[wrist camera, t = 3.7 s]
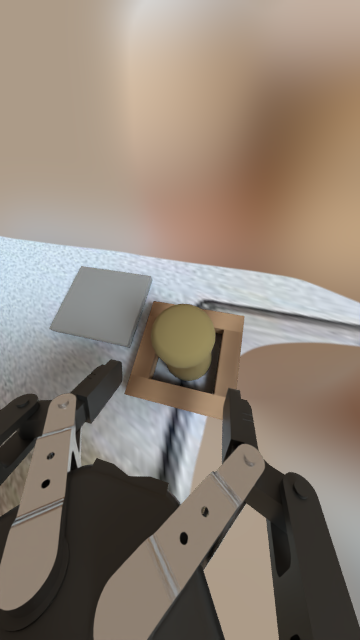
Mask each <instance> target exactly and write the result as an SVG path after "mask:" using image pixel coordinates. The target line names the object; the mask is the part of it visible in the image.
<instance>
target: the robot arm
mask: <svg viewBox="0 0 360 640" xmlns="http://www.w3.org/2000/svg"><path fill="white" fill-rule="evenodd" d="M121 382H122V363H121V362H120V361H116V360H112V359H111V360H110V361H109V362H108V363H107V364H106V365H101V366H99V367H97V368H96V369H94V370H93V371H92V372H91V374H89V375H88V376H87V378H85V379H84V380H83V381H82V382H81V383H80V384H79V385H78V386H77V387H76V388H75V389H74V390H73V391H72V392H71V393H68V394H62V395H60V396H58V397H56V398H55V399H53V400H41V401H39V400H38V397H37V395H35V394H26V395H22V396H20V397H18V398H16V399H14V400H13V401H12V402H10V403H9V404H8V405H7V406H5V407H4V408H3V409H1V410H0V446H1V444H2V443H3V442H4V441H5V440H6V439H7V438H9V437H10V436H11V435H12V434H13V433H14V432H15V431H17V432H16V433H15V434H14V435H13V436H12V437H11V438H10V439H9V440H8V441H6V442H5V443H4V444H3V445H2V446H1V447H0V485H1V484H2V483H3V482H4V481H5V480H6V478H7V477H8V476H9V475H10V474H11V473H12V472H13V470H14V469H15V468H16V467H17V466H18V465H19V464H20V462H21V461H22V460H23V459H24V458H25V457H26V456H27V455H28V453H29V452H30V451H31V450H32V449H33V448H34V447H35V448H34V452H33V456H32V460H31V463H30V467H29V471H28V475H27V479H26V483H25V487H24V490H23V494H22V498H21V502H20V504H19V505H18V506H16V507H15V508H13V509H12V510H10V511H9V512H7V513H5V514H4V515H2V516H1V517H0V640H225V638H224V635H223V632H222V629H221V625H220V622H219V619H218V616H217V613H216V610H215V607H214V603H213V600H212V597H211V594H210V590H209V587H208V584H207V581H206V578H205V574H204V571H203V570H204V569H205V567H206V566H207V564H208V563H209V561H210V560H211V558H212V557H213V555H214V553H215V552H216V550H217V549H218V547H219V546H220V544H221V542H222V541H223V539H224V537H225V536H226V534H227V532H228V531H229V529H230V528H231V526H232V525H233V523H234V521H235V520H236V518H237V517H238V515H239V514H240V512H241V511H242V509H243V508H244V506H245V505H246V503H247V504H248V505H250V506H251V507H252V508H254V509H255V510H256V511H258V512H259V513H260V514H262V515H263V516H264V517H265V518H266V521H267V531H268V540H269V549H270V558H271V568H272V578H273V587H274V596H275V606H276V615H277V624H278V634H279V640H360V627H359V624H358V621H357V618H356V615H355V611H354V608H353V605H352V602H351V599H350V596H349V593H348V590H347V586H346V583H345V580H344V577H343V575H342V571H341V568H340V565H339V561H338V558H337V555H336V552H335V549H334V546H333V543H332V540H331V537H330V534H329V530H328V528H327V524H326V521H325V518H324V515H323V512H322V509H321V505H320V502H319V499H318V496H317V494H316V492H315V490H314V489H313V487H312V486H311V484H310V483H309V482H308V481H307V480H306V479H305V478H303V477H302V476H300V475H299V474H296V473H293V472H289V473H287V474H285V475H284V474H282V473H281V472H279V471H278V470H276V469H275V468H273V467H272V466H270V465H269V464H268V463H267V462H266V461H265V460H264V459H263V457H262V455H261V454H260V452H259V450H258V446H257V440H256V434H255V427H254V423H253V417H252V409H251V406H250V405H249V403H248V402H247V400H243V399H241V396H240V391H239V390H236V389H232V388H228V391H227V394H226V398H225V401H224V406H223V427H222V429H223V430H222V432H223V433H222V465H221V466H220V467H219V469H218V470H217V471H216V472H211V473H210V474H209V475H208V476H207V477H206V478H205V479H204V480H203V481H202V482H201V484H200V485H199V486H198V487H197V488H196V489H195V490H194V491H193V492H192V493H191V494H190V495H189V497H188V498H187V499H186V500H185V501H184V502H183V503H182V504H180V502H179V501H178V500H177V498H176V497H175V496H174V495H173V494H172V493H171V492H170V491H169V490H168V485H169V483H167V482H164V481H161V480H158V479H155V478H152V477H136V476H128V475H127V474H125V473H124V472H123V471H122V470H120V469H119V468H118V467H117V466H115V465H114V464H112V463H109V462H106V461H103V460H100V459H98V458H97V459H96V460H95V462H94V464H93V465H85V466H82V467H81V438H82V425H83V424H84V423H85V422H87V423H92V422H93V421H94V419H95V418H96V417H97V415H98V414H99V413H100V411H101V410H102V409H103V407H104V406H105V404H106V403H107V402H108V400H109V399H110V398H111V396H112V395H113V394H114V392H115V391H116V390H117V388H118V387H119V386H120V384H121Z"/></svg>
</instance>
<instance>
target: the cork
mask: <svg viewBox="0 0 360 640" xmlns="http://www.w3.org/2000/svg"><path fill="white" fill-rule="evenodd" d="M151 341H152V347H153V349H154V351H155V353H156V355H157V356H158V357H159V358H160V359H161V360H162V361H164V362H165V363H166V365H167V367H168V369H169V371H170V372H171V373H172V374H173V375H174V376H175V377H177V378H179V379H181V380H186V381H192V380H196V379H199V378H200V377H202V376H203V375H204V374H205V373H206V372H207V371H208V370H209V367H210V365H211V361H212V354H211V351H212V349H213V346H214V343H215V329H214V325H213V322H212V321H211V319H210V318H209V316H208V315H207V313H205V312H204V311H203V310H201V309H200V308H199V307H196V306H193V305H190V304H178V305H173V306H170V307H169V308H167V309H165V310H163V311H162V312H161V313H160V314H159V315H158V316H157V318H156V319H155V321H154V323H153V325H152V331H151Z"/></svg>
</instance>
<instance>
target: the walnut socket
mask: <svg viewBox="0 0 360 640" xmlns="http://www.w3.org/2000/svg"><path fill="white" fill-rule="evenodd" d="M173 305H174V304H168V303H162V302H156V301H154V302H153V305H152V308H151V311H150V314H149V317H148V321H147V324H146V327H145V330H144V333H143V336H142V340H141V343H140V346H139V349H138V352H137V356H136V359H135V362H134V365H133V368H132V371H131V375H130V378H129V381H128V384H127V387H126V390H125V394H126V395H130V396H134V397H138V398H141V399H145V400H149V401H153V402H156V403H160V404H164V405H168V406H171V407H175V408H179V409H183V410H186V411H190V412H194V413H198V414H201V415H205V416H209V417H213V418H217V419H220V420H223V406H224V401H225V398H226V394H227V391H228V388H232V389H237V379H238V370H239V361H240V352H241V343H242V334H243V325H244V316H240V315H234V314H228V313H222V312H216V311H210V310H204V309H201V310H203V311H204V312H205V313H207V315H208V316H209V318H210V319H211V321H212V322H213V325H214V329H215V333H218V334H222V338H221V345H220V351H219V358H218V365H217V371H216V378H215V384H214V391H213V394H210V393H205V392H201V391H197V390H193V389H189V388H185V387H181V386H177V385H173V384H169V383H165V382H160V381H156V380H152V379H153V375H154V372H155V368H156V364H157V361H158V356H157V355H156V353H155V351H154V349H153V347H152V341H151V331H152V325H153V323H154V321H155V319H156V318H157V316H158V315H159V314H160V313H161V312H162V311H163V310H165V309H167V308H169V307H170V306H173Z"/></svg>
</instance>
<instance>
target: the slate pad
mask: <svg viewBox="0 0 360 640" xmlns="http://www.w3.org/2000/svg"><path fill="white" fill-rule="evenodd" d="M151 283H152V278H151V276H146V275H139V274H132V273H125V272H118V271H111V270H104V269H97V268H90V267H83V266H81V268H80V270H79V272H78V274H77V276H76V278H75V280H74V282H73V284H72V285H71V287H70V289H69V291H68V293H67V295H66V297H65V299H64V301H63V303H62V305H61V307H60V309H59V311H58V313H57V315H56V317H55V318H54V320H53V322H52V324H51V326H50V328H49V329H51V330H53V331H56V332H61V333H65V334H70V335H75V336H79V337H84V338H88V339H93V340H98V341H102V342H107V343H111V344H116V345H120V346H125V347H130V346H131V343H132V340H133V337H134V334H135V331H136V328H137V325H138V322H139V319H140V316H141V313H142V310H143V307H144V304H145V301H146V298H147V295H148V292H149V289H150V286H151Z"/></svg>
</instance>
